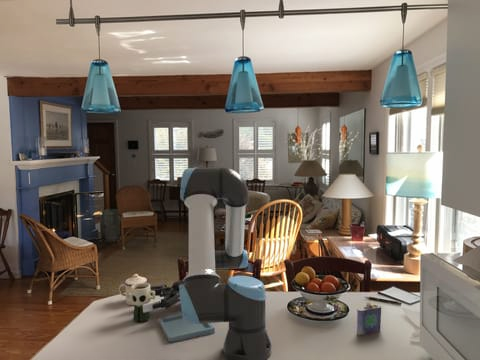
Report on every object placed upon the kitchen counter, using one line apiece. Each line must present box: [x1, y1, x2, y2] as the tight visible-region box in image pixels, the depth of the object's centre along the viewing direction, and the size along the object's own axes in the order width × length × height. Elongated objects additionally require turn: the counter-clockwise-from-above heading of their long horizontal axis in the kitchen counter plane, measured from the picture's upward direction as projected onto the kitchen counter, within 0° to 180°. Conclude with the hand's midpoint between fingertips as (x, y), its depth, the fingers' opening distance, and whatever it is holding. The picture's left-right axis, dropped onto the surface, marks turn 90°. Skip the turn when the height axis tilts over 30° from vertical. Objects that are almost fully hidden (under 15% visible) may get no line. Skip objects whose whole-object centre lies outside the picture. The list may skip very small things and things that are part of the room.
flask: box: [356, 301, 382, 336], centre depth 135 cm, size 9×3×11 cm, turn 109°
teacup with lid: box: [118, 273, 148, 306], centre depth 164 cm, size 12×9×12 cm
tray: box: [158, 313, 216, 344], centre depth 140 cm, size 16×16×2 cm
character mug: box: [127, 282, 156, 323], centre depth 147 cm, size 11×7×13 cm, turn 86°
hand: (135, 303), depth 145 cm, fingers open, 13 cm apart
